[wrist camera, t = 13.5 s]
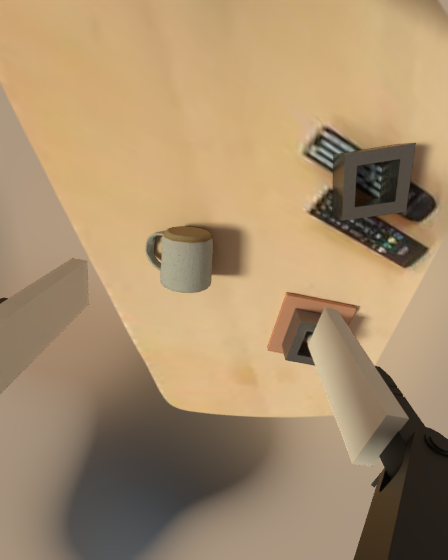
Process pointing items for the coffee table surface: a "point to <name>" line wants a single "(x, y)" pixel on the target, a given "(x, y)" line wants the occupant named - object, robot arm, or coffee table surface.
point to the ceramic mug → (183, 258)
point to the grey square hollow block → (392, 181)
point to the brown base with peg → (303, 303)
